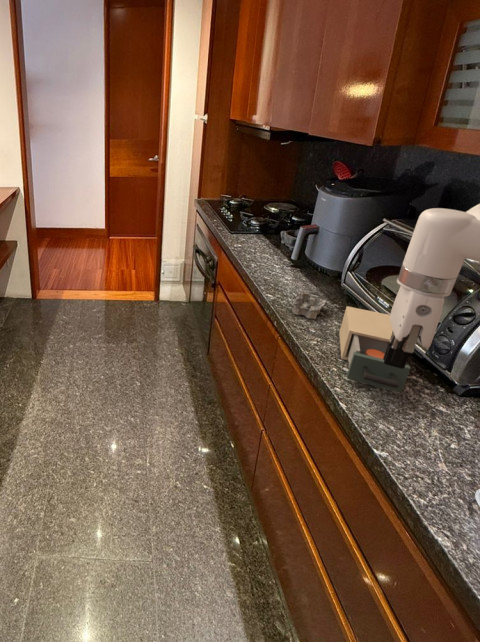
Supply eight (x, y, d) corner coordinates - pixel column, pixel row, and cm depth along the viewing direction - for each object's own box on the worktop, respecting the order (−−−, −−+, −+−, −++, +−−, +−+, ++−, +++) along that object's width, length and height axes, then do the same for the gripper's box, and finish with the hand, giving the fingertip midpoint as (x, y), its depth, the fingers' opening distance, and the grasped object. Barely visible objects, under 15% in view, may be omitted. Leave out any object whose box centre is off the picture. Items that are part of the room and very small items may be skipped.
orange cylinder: (378, 364, 92) (383, 350, 90) (384, 375, 88) (389, 361, 87) (359, 361, 93) (363, 347, 92) (364, 371, 90) (369, 357, 88)
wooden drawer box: (396, 372, 92) (407, 343, 89) (341, 358, 97) (349, 330, 94) (388, 343, 103) (397, 316, 100) (339, 332, 108) (346, 306, 105)
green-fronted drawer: (404, 406, 81) (414, 380, 78) (347, 389, 86) (355, 365, 83) (392, 361, 95) (400, 338, 92) (344, 349, 99) (350, 327, 96)
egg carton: (300, 300, 125) (302, 289, 123) (325, 308, 120) (328, 297, 118) (287, 312, 118) (290, 300, 116) (314, 321, 113) (317, 309, 111)
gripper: (466, 303, 60) (425, 395, 67) (441, 268, 72) (409, 349, 79) (406, 291, 63) (374, 380, 70) (393, 260, 75) (366, 339, 83)
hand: (393, 364), depth 75 cm, fingers closed
